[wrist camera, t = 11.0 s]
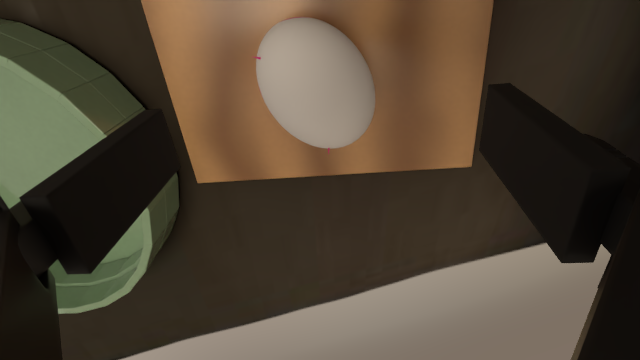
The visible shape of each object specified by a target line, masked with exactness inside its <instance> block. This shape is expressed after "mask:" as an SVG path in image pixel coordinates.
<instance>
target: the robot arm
mask: <svg viewBox="0 0 640 360" xmlns="http://www.w3.org/2000/svg"><path fill="white" fill-rule="evenodd" d="M479 151H480V152H481V153H482V155H483V156H484V158H485V159H486V160H487V162H488V163H489V164H490V166H491V167H492V168H493V170H494V171H495V173H496V174H497V175H498V177H499V178H500V179H501V181H502V182H503V184H504V185H505V186H506V188H507V189H508V190H509V192H510V193H511V195H512V196H513V197H514V199H515V200H516V201H517V203H518V204H519V206H520V207H521V208H522V210H523V211H524V212H525V214H526V215H527V216H528V218H529V219H530V221H531V222H532V223H533V225H534V226H535V227H536V229H537V230H538V232H539V233H540V234H541V236H542V237H543V238H544V240H545V241H546V243H547V244H548V245H549V247H550V248H551V249H552V251H553V252H554V253H555V255H556V256H557V258H558V259H559V260H560V262H561V263H586V262H587V263H589V262H594V260H595V257H596V255H597V252H598V250H599V247H600V245H601V244H602V245H603V246H604V247H605V248H606V249H607V250H608V251H609V253H610V254H611V257H610V260H609V262H608V264H607V267H606V269H605V271H604V274H603V276H602V278H601V281H600V283H599V285H598V290H597V293H596V296H595V298H594V301H593V303H592V306H591V309H590V311H589V314H588V316H587V319H586V322H585V324H584V327H583V329H582V332H581V335H580V337H579V340H578V343H577V345H576V348H575V350H574V353H573V356H572V358H571V360H640V165H639V164H638V163H636V162H635V161H633V160H632V159H630V158H629V157H626V155H624V154H623V153H621V152H620V151H619V150H616V148H614V147H613V146H611V145H610V144H608V143H607V142H605V141H604V140H601V139H598V138H596V137H593V136H590V135H587V134H582V133H580V132H579V131H577V130H576V129H574V128H573V127H572V126H570V125H569V124H567V123H566V122H564V121H563V120H562V119H560V118H559V117H557V116H556V115H555V114H553V113H552V112H550V111H549V110H547V109H546V108H545V107H543V106H542V105H540V104H539V103H537V102H536V101H535V100H533V99H532V98H530V97H529V96H527V95H526V94H525V93H523V92H522V91H520V90H519V89H517V88H516V87H515V86H513V85H512V84H510V83H506V84H492V85H489V86H488V93H487V100H486V107H485V113H484V120H483V127H482V134H481V141H480V148H479ZM180 167H181V166H180V163H179V160H178V157H177V154H176V151H175V148H174V145H173V142H172V139H171V136H170V133H169V130H168V127H167V124H166V121H165V118H164V115H163V112H162V109H154V110H144V111H142V112H141V113H140V114H138V115H137V116H135V117H134V118H132V119H131V120H129V121H128V122H127V123H125V124H124V125H122V126H121V127H119V128H118V129H117V130H115V131H114V132H112V133H111V134H109V135H108V136H107V137H105V138H104V139H102V140H101V141H99V142H98V143H97V144H95V145H94V146H92V147H91V148H89V149H88V150H86V151H85V152H84V153H82V154H81V155H79V156H78V157H76V158H75V159H74V160H72V161H71V162H69V163H68V164H66V165H65V166H64V167H62V168H61V169H59V170H58V171H56V172H55V173H54V174H52V175H51V176H49V177H48V178H46V179H45V180H44V181H42V182H41V183H39V184H38V185H36V186H35V187H33V188H32V189H31V190H29V191H28V192H26V193H25V194H23V195H22V196H21V197H19V199H20V200H21V201H20V202H18V203H17V204H15V205H14V206H13V207H11V208H10V209H9V208H8V206H7V205H6V203H5V202H4V200H3V199H2V197H1V196H0V360H62V349H61V339H60V328H59V317H58V306H57V295H56V284H55V278H54V276H53V274H52V273H51V271H50V270H49V267H50V266H51V265H52V264H53V263H54V262H55V261H56V260H57V259H58V260H59V262H60V264H61V265H62V267H63V268H64V270H65V272H66V273H67V274H91V273H92V272H93V271H94V270H95V268H96V267H97V266H98V265H99V264H100V262H101V261H102V260H103V259H104V258H105V257H106V255H107V254H108V253H109V252H110V251H111V249H112V248H113V247H114V246H115V245H116V243H117V242H118V241H119V240H120V239H121V237H122V236H123V235H124V234H125V233H126V232H127V230H128V229H129V228H130V227H131V226H132V224H133V223H134V222H135V221H136V220H137V218H138V217H139V216H140V215H141V214H142V212H143V211H144V210H145V209H146V208H147V206H148V205H149V204H150V203H151V202H152V201H153V199H154V198H155V197H156V196H157V195H158V193H159V192H160V191H161V190H162V189H163V187H164V186H165V185H166V184H167V183H168V181H169V180H170V179H171V178H172V177H173V175H174V174H175V173H176V172H177V171H178V170H179V168H180Z"/></svg>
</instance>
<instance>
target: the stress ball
mask: <svg viewBox="0 0 640 360" xmlns="http://www.w3.org/2000/svg"><path fill="white" fill-rule="evenodd" d="M254 58H257V59H256V75H257V81H258V85H259V89H260V92H261V95H262V97H263V99H264V102H265V104H266V105H267V107H268V109H269V111H270V113H271V114H272V115H273V116H274V118H275V119H276V120H277V121H278V123H279V124H280V125H281V126H282V127H283V128H284V129H285V130H287V131H288V132H289V133H290V134H291V135H293V136H294V137H296V138H297V139H299V140H301V141H303V142H305V143H307V144H309V145H312V146H315V147H320V148H327V149H328V153H329V149H332V148H340V147H344V146H347V145H349V144H352V143H353V142H355V141H356V140H357V139H359V138H360V137H361V136H362V135H363V134H364V133H365V131H366V130H367V128H368V127H369V125H370V123H371V120H372V118H373V114H374V109H375V88H374V83H373V79H372V75H371V72H370V70H369V67H368V65H367V63H366V61H365V59H364V58H363V56H362V54H361V53H360V51H359V50H358V48H357V47H356V46H355V45H354V44H353V42H352V41H351V40H350V39H349V38H348V37H347V36H346V35H344V34H343V33H342V32H341V31H339V30H338V29H337V28H335V27H333V26H332V25H330V24H328V23H326V22H324V21H321V20H318V19H314V18H309V17H293V18H289V19H286V20H283V21H281V22H279V23H277V24H276V25H274V26H273V27H272V28H271V29H270V30H269V31H268V32H267V33H266V35H265V36H264V38H263V40H262V41H261V44H260V46H259V49H258V53H257V57H254Z"/></svg>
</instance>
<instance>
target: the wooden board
mask: <svg viewBox="0 0 640 360" xmlns="http://www.w3.org/2000/svg"><path fill="white" fill-rule="evenodd" d="M141 3H142V6H143V10H144V13H145V16H146V19H147V22H148V26H149V29H150V32H151V35H152V38H153V42H154V45H155V48H156V51H157V54H158V58H159V61H160V64H161V67H162V70H163V74H164V77H165V80H166V83H167V86H168V90H169V93H170V96H171V99H172V102H173V106H174V109H175V112H176V115H177V118H178V122H179V125H180V128H181V131H182V135H183V138H184V141H185V144H186V147H187V151H188V154H189V157H190V160H191V163H192V167H193V170H194V173H195V176H196V179H197V183H208V182H225V181H242V180H259V179H275V178H292V177H309V176H325V175H342V174H359V173H375V172H392V171H409V170H426V169H442V168H459V167H471V166H472V159H473V151H474V144H475V137H476V129H477V122H478V114H479V107H480V99H481V92H482V85H483V77H484V70H485V62H486V55H487V47H488V40H489V33H490V25H491V18H492V10H493V3H494V0H141ZM293 17H309V18H314V19H318V20H321V21H324V22H326V23H328V24H330V25H332V26H333V27H335V28H337V29H338V30H339V31H341V32H342V33H343V34H344V35H346V36H347V37H348V38H349V39H350V40H351V41H352V42H353V44H354V45H355V46H356V47H357V48H358V50H359V51H360V53H361V54H362V56H363V58H364V59H365V61H366V63H367V65H368V67H369V70H370V72H371V75H372V79H373V83H374V88H375V109H374V114H373V118H372V120H371V123H370V125H369V127H368V128H367V130H366V131H365V133H364V134H363V135H362V136H361V137H360V138H359V139H357V140H356V141H355V142H353V143H352V144H349V145H347V146H344V147H340V148H332V149H329V153H328V149H327V148H320V147H315V146H312V145H309V144H307V143H305V142H303V141H301V140H299V139H297V138H296V137H294V136H293V135H291V134H290V133H289V132H288V131H287V130H285V129H284V128H283V127H282V126H281V125H280V124H279V123H278V121H277V120H276V119H275V118H274V116H273V115H272V114H271V113H270V111H269V109H268V107H267V105H266V104H265V102H264V99H263V97H262V95H261V92H260V89H259V85H258V81H257V75H256V59H257V58H254V57H257V53H258V49H259V46H260V44H261V41H262V40H263V38H264V36H265V35H266V33H267V32H268V31H269V30H270V29H271V28H272V27H273V26H274V25H276V24H277V23H279V22H281V21H283V20H286V19H289V18H293Z"/></svg>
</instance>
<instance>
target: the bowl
mask: <svg viewBox="0 0 640 360" xmlns="http://www.w3.org/2000/svg"><path fill="white" fill-rule="evenodd" d="M144 110H145V108H144V107H143V106H142V105H141V104H140V103H139V102H138V101H137V100H136V99H135V98H134V96H133V95H132V94H131V93H130V92H129V91H128V90H127V89H126V88H125V87H124V86H123V85H122V84H121V83H120V82H119V81H118V80H117V79H116V78H115V77H114V76H113V75H112V74H111V73H110V72H109V71H107V70H106V69H104V68H103V67H102V66H100V65H99V64H97V63H96V62H94V61H93V60H91V59H90V58H89V57H87V56H86V55H84V54H83V53H81V52H80V51H79V50H77V49H76V48H74V47H73V46H71V45H70V44H68V43H67V42H64V41H62V40H60V39H57V38H55V37H53V36H50V35H48V34H46V33H44V32H41V31H39V30H37V29H34V28H32V27H30V26H27V25H25V24H23V23H19V22H14V21H9V20H3V19H0V196H1V197H2V199H3V200H4V202H5V203H6V205H7V206H8V208H9V209H10V208H11V207H13V206H14V205H15V204H17V203H18V202H20V201H21V200H20V199H19V197H21V196H22V195H23V194H25V193H26V192H28V191H29V190H31V189H32V188H33V187H35V186H36V185H38V184H39V183H41V182H42V181H44V180H45V179H46V178H48V177H49V176H51V175H52V174H54V173H55V172H56V171H58V170H59V169H61V168H62V167H64V166H65V165H66V164H68V163H69V162H71V161H72V160H74V159H75V158H76V157H78V156H79V155H81V154H82V153H84V152H85V151H86V150H88V149H89V148H91V147H92V146H94V145H95V144H97V143H98V142H99V141H101V140H102V139H104V138H105V137H107V136H108V135H109V134H111V133H112V132H114V131H115V130H117V129H118V128H119V127H121V126H122V125H124V124H125V123H127V122H128V121H129V120H131V119H132V118H134V117H135V116H137V115H138V114H140V113H141V112H142V111H144ZM178 209H179V190H178V177H177V173H175V174H174V175H173V177H172V178H171V179H170V180H169V181H168V183H167V184H166V185H165V186H164V187H163V189H162V190H161V191H160V192H159V193H158V195H157V196H156V197H155V198H154V199H153V201H152V202H151V203H150V204H149V205H148V206H147V208H146V209H145V210H144V211H143V212H142V214H141V215H140V216H139V217H138V218H137V220H136V221H135V222H134V223H133V224H132V226H131V227H130V228H129V229H128V230H127V232H126V233H125V234H124V235H123V236H122V237H121V239H120V240H119V241H118V242H117V243H116V245H115V246H114V247H113V248H112V249H111V251H110V252H109V253H108V254H107V255H106V257H105V258H104V259H103V260H102V261H101V262H100V264H99V265H98V266H97V267H96V268H95V270H94V271H93V272H92V273H91V274H67V273H66V272H65V270H64V268H63V267H62V265H61V264H60V262H59V260H58V259H57V260H56V261H55V262H54V263H53V264H52V265H51V266H50V267H49V270H50V271H51V273H52V274H53V276H54V278H55V284H56V295H57V306H58V314H63V313H80V312H84V311H88V310H92V309H96V308H100V307H104V306H107V305H109V304H110V303H112V302H114V301H115V300H117V299H119V298H120V297H122V296H124V295H125V294H127V293H129V292H130V291H131V290H132V288H133V287H134V286H135V285H136V283H137V282H138V281H139V280H140V278H141V277H142V276H143V274H144V273H145V272H146V270H147V269H148V267H149V266H150V264H151V263H152V261H153V260H154V258H155V256H156V255H157V253H158V252H159V250H160V249H161V247H162V246H163V244H164V243H165V241H166V240H167V238H168V236H169V235H170V233H171V232H172V229H173V226H174V222H175V219H176V216H177V212H178Z"/></svg>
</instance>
